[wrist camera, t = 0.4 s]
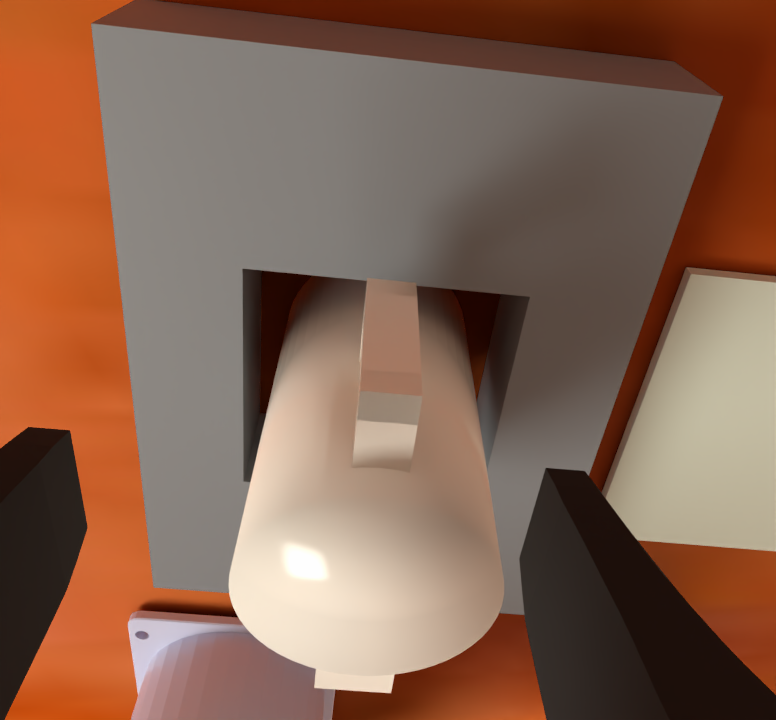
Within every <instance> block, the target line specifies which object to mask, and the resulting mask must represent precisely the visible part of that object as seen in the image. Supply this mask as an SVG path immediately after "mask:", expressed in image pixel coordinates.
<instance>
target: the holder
mask: <svg viewBox="0 0 776 720" xmlns="http://www.w3.org/2000/svg"><path fill="white" fill-rule="evenodd" d="M91 26H92V35H93V44H94V53H95V62H96V71H97V80H98V89H99V98H100V107H101V117H102V126H103V135H104V144H105V153H106V162H107V171H108V180H109V189H110V198H111V207H112V216H113V225H114V234H115V243H116V252H117V261H118V270H119V279H120V288H121V297H122V306H123V315H124V324H125V333H126V342H127V351H128V360H129V369H130V378H131V387H132V397H133V406H134V415H135V424H136V433H137V442H138V451H139V460H140V469H141V478H142V487H143V496H144V505H145V514H146V523H147V532H148V541H149V550H150V559H151V568H152V577H153V586H154V587H155V588H169V589H182V590H196V591H209V592H222V593H229V586H228V585H229V573H230V569H231V565H232V560H233V556H234V552H235V547H236V543H237V539H238V534H239V530H240V526H241V521H242V517H243V513H244V508H245V504H246V500H247V495H248V491H249V487H250V482H251V478H252V474H253V469H254V465H255V461H256V456H257V452H258V448H259V443H260V439H261V435H262V430H263V426H264V422H265V417H266V414H265V413H260V378H261V295H262V270H263V271H273V272H283V273H293V274H303V275H313V276H323V277H334V278H344V279H354V280H364V281H367V278H373V279H383V280H393V281H403V282H413V283H417V286H425V287H435V288H445V289H455V290H466V291H476V292H486V293H496V294H500V299H499V303H498V308H497V312H496V317H495V321H494V326H493V330H492V335H491V340H490V344H489V349H488V353H487V358H486V362H485V367H484V371H483V376H482V380H481V385H480V389H479V394H478V398H477V408H478V415H479V422H480V428H481V435H482V441H483V448H484V454H485V461H486V467H487V474H488V480H489V487H490V493H491V500H492V506H493V513H494V519H495V526H496V533H497V539H498V546H499V552H500V559H501V565H502V572H503V578H504V598H503V603H502V607H501V609H500V612H499V613H505V614H519V615H524V605H523V596H522V585H521V573H520V561H519V558H520V554H521V551H522V547H523V544H524V540H525V537H526V534H527V530H528V527H529V523H530V520H531V516H532V513H533V510H534V506H535V503H536V499H537V496H538V493H539V489H540V486H541V482H542V479H543V475H544V472H545V469H546V468H555V469H567V470H580V471H585V472H586V473H587V475H588V476H589V474H590V471H591V468H592V465H593V462H594V460H595V457H596V454H597V451H598V448H599V446H600V443H601V440H602V437H603V434H604V431H605V429H606V426H607V423H608V420H609V417H610V415H611V412H612V409H613V406H614V403H615V400H616V398H617V395H618V392H619V389H620V386H621V384H622V381H623V378H624V375H625V372H626V369H627V367H628V364H629V361H630V358H631V355H632V353H633V350H634V347H635V344H636V341H637V338H638V336H639V333H640V330H641V327H642V324H643V322H644V319H645V316H646V313H647V310H648V307H649V305H650V302H651V299H652V296H653V293H654V291H655V288H656V285H657V282H658V279H659V276H660V274H661V271H662V268H663V265H664V262H665V260H666V257H667V254H668V251H669V248H670V246H671V243H672V240H673V237H674V234H675V231H676V229H677V226H678V223H679V220H680V217H681V215H682V212H683V209H684V206H685V203H686V200H687V198H688V195H689V192H690V189H691V186H692V184H693V181H694V178H695V175H696V172H697V169H698V167H699V164H700V161H701V158H702V155H703V153H704V150H705V147H706V144H707V141H708V138H709V136H710V133H711V130H712V127H713V124H714V122H715V119H716V116H717V113H718V110H719V107H720V105H721V102H722V99H723V96H722V95H721V94H719V93H718V92H716V91H715V90H714V89H712V88H711V87H709V86H708V85H707V84H705V83H704V82H702V81H701V80H700V79H698V78H697V77H695V76H694V75H693V74H691V73H690V72H688V71H687V70H685V69H684V68H683V67H681V66H680V65H678V64H677V63H676V62H674V61H666V60H658V59H649V58H641V57H632V56H624V55H615V54H607V53H598V52H590V51H581V50H573V49H564V48H556V47H547V46H539V45H530V44H522V43H513V42H505V41H496V40H488V39H479V38H471V37H462V36H454V35H445V34H437V33H428V32H420V31H411V30H403V29H394V28H386V27H377V26H369V25H360V24H352V23H343V22H335V21H326V20H318V19H310V18H301V17H293V16H284V15H276V14H267V13H259V12H250V11H242V10H233V9H225V8H216V7H208V6H199V5H191V4H182V3H174V2H165V1H157V0H134V1H132V2H130V3H129V4H127V5H125V6H123V7H121V8H119V9H117V10H115V11H114V12H112V13H110V14H108V15H106V16H104V17H102V18H100V19H99V20H97V21H95V22H93V23H91Z"/></svg>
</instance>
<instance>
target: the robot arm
mask: <svg viewBox="0 0 776 720" xmlns="http://www.w3.org/2000/svg"><path fill="white" fill-rule="evenodd" d="M86 531H87V522H86V516H85V511H84V505H83V500H82V494H81V489H80V483H79V478H78V472H77V467H76V461H75V456H74V450H73V445H72V439H71V434H70V430H58V429H45V428H32V427H28V428H27V429H25V430H24V431H23V432H21V433H20V434H19V435H17V436H16V437H15V438H13V439H12V440H11V441H10V442H8V443H7V444H6V445H4V446H3V447H2V448H1V449H0V720H4V719H5V717H6V715H7V713H8V711H9V709H10V707H11V705H12V703H13V701H14V699H15V697H16V695H17V693H18V690H19V688H20V686H21V684H22V682H23V680H24V678H25V676H26V674H27V672H28V670H29V668H30V666H31V664H32V662H33V660H34V658H35V655H36V653H37V651H38V649H39V647H40V645H41V643H42V641H43V639H44V637H45V635H46V633H47V631H48V628H49V626H50V624H51V622H52V620H53V618H54V616H55V614H56V612H57V610H58V607H59V605H60V603H61V601H62V599H63V597H64V595H65V592H66V590H67V588H68V585H69V582H70V579H71V576H72V573H73V570H74V568H75V565H76V562H77V559H78V556H79V552H80V549H81V546H82V543H83V540H84V537H85V534H86ZM519 561H520V573H521V585H522V596H523V605H524V615H525V622H526V627H527V632H528V637H529V642H530V646H531V651H532V656H533V660H534V665H535V670H536V674H537V679H538V683H539V688H540V692H541V697H542V701H543V706H544V710H545V715H546V719H547V720H776V695H775V694H774V693H773V692H772V691H771V690H770V689H769V688H768V687H767V686H766V685H765V684H764V683H763V682H762V681H761V680H760V679H759V678H758V677H757V676H756V675H755V674H754V673H753V672H752V671H751V670H750V669H749V668H748V667H747V666H746V665H744V664H743V662H742V661H741V660H740V659H739V658H738V657H737V656H736V655H735V654H734V653H733V652H732V651H731V650H730V649H729V648H728V647H727V646H726V645H725V644H724V643H723V642H722V641H721V639H720V638H719V637H718V636H717V635H716V634H715V633H714V632H713V631H712V629H711V628H710V627H709V626H708V625H707V624H706V623H705V622H704V621H703V619H702V618H701V617H700V616H699V615H698V614H697V613H696V612H695V611H694V609H693V608H692V607H691V606H690V605H689V604H688V602H687V601H686V600H685V599H684V598H683V597H682V595H681V594H680V593H679V592H678V591H677V589H676V588H675V587H674V586H673V584H672V583H671V582H670V581H669V580H668V578H667V577H666V576H665V575H664V573H663V572H662V571H661V570H660V568H659V567H658V566H657V565H656V564H655V562H654V561H653V560H652V559H651V557H650V556H649V555H648V554H647V552H646V551H645V550H644V548H643V547H642V546H641V545H640V543H639V542H638V541H637V539H636V538H635V537H634V535H633V534H632V533H631V532H630V530H629V529H628V528H627V526H626V525H625V524H624V522H623V521H622V520H621V518H620V517H619V516H618V514H617V513H616V512H615V510H614V509H613V508H612V506H611V505H610V504H609V502H608V501H607V500H606V498H605V497H604V496H603V494H602V493H601V492H600V490H599V489H598V488H597V486H596V485H595V484H594V482H593V481H592V480H591V478H590V477H589V476H588V475H587V473H586V472H585V471H580V470H567V469H555V468H546V469H545V472H544V475H543V479H542V482H541V486H540V489H539V493H538V496H537V499H536V503H535V506H534V510H533V513H532V516H531V520H530V523H529V527H528V530H527V534H526V537H525V540H524V544H523V547H522V551H521V554H520V558H519ZM128 629H129V636H130V643H131V650H132V657H133V663H134V670H135V677H136V684H137V690H138V698H137V702H136V705H135V708H134V711H133V715H132V718H131V720H332V714H333V705H334V697H335V689H322V688H314V685H315V674H316V669H315V668H311V667H308V666H305V665H302V664H300V663H297V662H294V661H292V660H290V659H288V658H286V657H284V656H282V655H280V654H278V653H276V652H275V651H273V650H271V649H270V648H268V647H267V646H265V645H264V644H263V643H261V642H260V641H259V640H258V639H256V638H255V637H254V636H253V635H252V634H251V633H250V632H249V631H248V630H247V629H246V627H245V626H244V625H243V623H242V622H241V621H240V619H239V618H238V617H225V616H211V615H197V614H184V613H170V612H156V611H136V612H134V613H132V614H131V616H130V619H129V622H128Z"/></svg>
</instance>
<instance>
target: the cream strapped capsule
mask: <svg viewBox="0 0 776 720" xmlns="http://www.w3.org/2000/svg"><path fill="white" fill-rule="evenodd" d="M228 586H229V594H230V599H231V602H232V605H233V608H234V610H235V612H236V614H237V616H238V618H239V619H240V621H241V622H242V623H243V625H244V626H245V627H246V629H247V630H248V631H249V632H250V633H251V634H252V635H253V636H254V637H255V638H256V639H258V640H259V641H260V642H261V643H263V644H264V645H265V646H267V647H268V648H270V649H271V650H273V651H275V652H276V653H278V654H280V655H282V656H284V657H286V658H288V659H290V660H292V661H294V662H297V663H300V664H302V665H305V666H308V667H311V668H315V669H316V674H315V685H314V688H322V689H336V690H351V691H366V692H381V693H391V691H392V685H393V680H394V675H395V674H401V673H407V672H412V671H417V670H421V669H424V668H427V667H431V666H434V665H437V664H439V663H442V662H444V661H447V660H449V659H451V658H453V657H455V656H456V655H458V654H460V653H462V652H463V651H465V650H466V649H468V648H469V647H471V646H472V645H473V644H475V643H476V642H477V641H478V640H479V639H480V638H482V637H483V636H484V634H485V633H486V632H487V631H488V630H489V629H490V628H491V626H492V624H493V623H494V621H495V620H496V618H497V616H498V614H499V612H500V609H501V607H502V603H503V598H504V578H503V572H502V565H501V559H500V552H499V546H498V539H497V533H496V526H495V519H494V513H493V506H492V500H491V493H490V487H489V480H488V474H487V467H486V461H485V454H484V448H483V441H482V435H481V428H480V422H479V415H478V408H477V402H476V395H475V389H474V382H473V376H472V369H471V363H470V356H469V350H468V343H467V337H466V330H465V324H464V318H463V313H462V310H461V307H460V304H459V302H458V300H457V298H456V296H455V294H454V292H453V291H452V290H451V289H445V288H435V287H425V286H417V283H413V282H403V281H393V280H383V279H373V278H367V281H364V280H354V279H344V278H334V277H323V276H311V277H310V278H309V279H308V280H307V281H306V283H305V284H304V285H303V286H302V287H301V289H300V290H299V292H298V293H297V295H296V297H295V299H294V301H293V304H292V306H291V310H290V314H289V318H288V322H287V326H286V331H285V335H284V339H283V344H282V348H281V352H280V357H279V361H278V365H277V370H276V374H275V378H274V383H273V387H272V391H271V396H270V400H269V404H268V409H267V413H266V417H265V422H264V426H263V430H262V435H261V439H260V443H259V448H258V452H257V456H256V461H255V465H254V469H253V474H252V478H251V482H250V487H249V491H248V495H247V500H246V504H245V508H244V513H243V517H242V521H241V526H240V530H239V534H238V539H237V543H236V547H235V552H234V556H233V560H232V565H231V569H230V573H229V585H228Z"/></svg>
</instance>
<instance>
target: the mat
mask: <svg viewBox="0 0 776 720" xmlns="http://www.w3.org/2000/svg"><path fill="white" fill-rule="evenodd" d="M602 494H603V496H604V497H605V498H606V500H607V501H608V502H609V504H610V505H611V506H612V508H613V509H614V510H615V512H616V513H617V514H618V516H619V517H620V518H621V520H622V521H623V522H624V524H625V525H626V526H627V528H628V529H629V530H630V532H631V533H632V534H633V535H634V537H635V538H636V539H637V540H642V541H654V542H667V543H679V544H691V545H704V546H716V547H729V548H741V549H753V550H766V551H776V276H769V275H759V274H749V273H739V272H730V271H720V270H710V269H700V268H690V267H686V269H685V271H684V274H683V277H682V279H681V282H680V285H679V287H678V290H677V293H676V295H675V298H674V301H673V303H672V306H671V309H670V311H669V314H668V317H667V319H666V322H665V325H664V327H663V330H662V333H661V335H660V338H659V341H658V343H657V346H656V349H655V351H654V354H653V357H652V359H651V362H650V365H649V367H648V370H647V373H646V375H645V378H644V381H643V383H642V386H641V389H640V391H639V394H638V397H637V399H636V402H635V405H634V407H633V410H632V413H631V415H630V418H629V421H628V423H627V426H626V429H625V431H624V434H623V437H622V439H621V442H620V445H619V447H618V450H617V453H616V455H615V458H614V461H613V463H612V466H611V469H610V471H609V474H608V477H607V479H606V482H605V485H604V487H603V490H602Z"/></svg>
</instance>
